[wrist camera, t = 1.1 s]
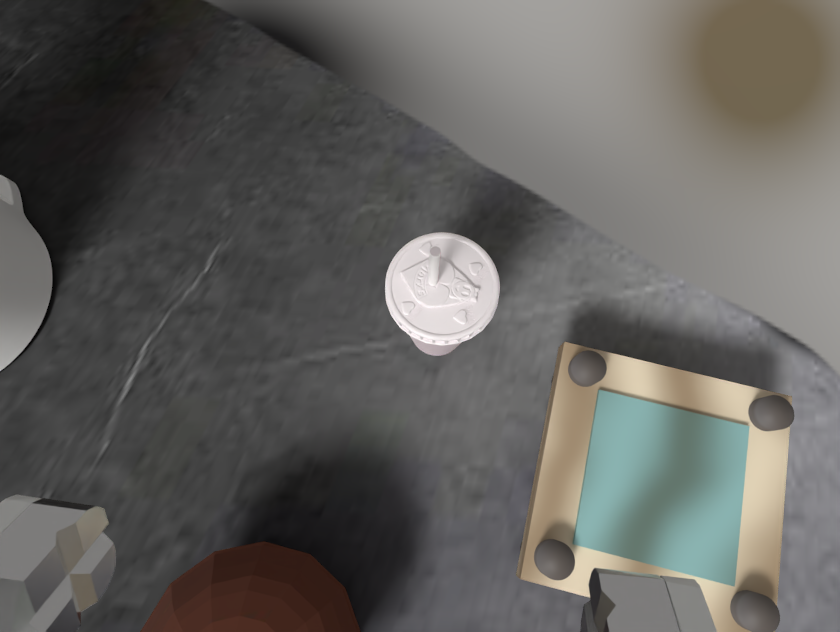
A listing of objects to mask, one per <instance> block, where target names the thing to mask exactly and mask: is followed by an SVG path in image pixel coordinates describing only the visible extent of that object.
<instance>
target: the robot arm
mask: <svg viewBox="0 0 840 632" xmlns="http://www.w3.org/2000/svg"><path fill="white" fill-rule="evenodd" d="M51 291H52V266H51V261H50V257H49V253H48V251H47V248H46V246H45V244H44V242H43V240H42V238H41V237H40V235H39V234H38V233H37V231H36V230H35V229H34V228H33V226H32V225H31V224H30V223H29V221H28V220H27V218H26V216H25V215H24V212H23V205H22V200H21V195H20V191H19V189H18V187H17V185H16V184H15V183H14V182H13V181H11V180H9V179H8V178H6V177H4V176H2V175H0V371H1V370H2V369H4V368H5V367H6V366H7V365H9V364H10V363H11V362H12V361H13V360H14V359H15V358H16V357H17V356H18V355H19V354H20V353H21V352H22V351H23V350H24V348H25V347H26V346H27V345H28V343H29V342H30V341H31V339H32V338H33V336H34V335H35V333H36V332H37V330H38V328H39V327H40V325H41V323H42V321H43V318H44V316H45V313H46V311H47V308H48V305H49V301H50V297H51ZM108 524H109V523H108V520H107V517H106V514H105V510H104V509H103V508H100V507H97V506H91V505H84V504H78V503H71V502H65V501H58V500H52V499H45V498H36V497H29V496H22V495H14V496H11V497H9V498H6V499H4V500H3V501H2V502H1V503H0V632H76V631H77V630H78V628H79V627H80V626H81V611H83V610H85V609H86V608H88V607H90V606H91V605H93V604H94V603H96V602H98V601H99V599H100V598H101V596H102V595H103V593H104V592H105V590H106V589H107V588H108V586H109V584H110V581H111V578H112V576H113V573H114V570H115V566H116V551H115V547H114V543H113V542H112V541H111V540H110V539H109V538H108V537H107V536H106V535H105V534H104V533H103V531H104V529H105V528H106V527H107V525H108ZM588 585H589V592H590V599H591V600H590V601H589V602H587V603H586V604H584V607H583V613H582V618H581V631H580V632H717V630H716V627H715V625H714V622H713V619H712V616H711V614H710V611H709V608H708V606H707V603H706V600H705V598H704V595H703V592H702V589H701V587H700V585H699V584H698V583H697V581H696V580H695V579H687V578H679V577H670V576H662V575H661V576H658V575H655V574H646V573H637V572H629V571H620V570H611V569H602V568H594V569H593V571H592V573H591V576H590V580H589V584H588Z"/></svg>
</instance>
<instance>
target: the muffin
mask: <svg viewBox="0 0 840 632" xmlns="http://www.w3.org/2000/svg"><path fill="white" fill-rule="evenodd" d="M140 632H361V631H360V629H359V626H358V623H357V620H356V617H355V614H354V611H353V609H352V606H351V603H350V600H349V597H348V594H347V591H346V588H345V587H344V586H343V585H342V584H341V583H340V582H339V581H338V580H337V579H335V578H334V577H333V576H332V575H331V574H330V573H329V572H328V571H327V570H326V569H325V568H324V567H323V566H322V565H321V564H320V563H319V562H318V561H317V560H316V559H315V558H314V557H313V556H312V555H311V554H308V553H304V552H301V551H297V550H293V549H290V548H286V547H283V546H279V545H275V544H272V543H268V542H264V541H263V542H258V543H254V544H249V545H244V546H239V547H234V548H230V549H225V550H220V551H215V552H213V553H212V554H211V555H209V556H208V557H206V558H205V559H204V560H202V561H201V562H200V563H198V564H197V565H195V566H194V567H193V568H191V569H190V570H188V571H187V572H186V573H184V574H183V575H182V576H180V577H179V578H177V579H176V580H175V581H173V582H172V583H171V584H170V585H169V587H168V588H167V590H166V592H165V593H164V595H163V596H162V598H161V600H160V601H159V603H158V604H157V606H156V608H155V609H154V611H153V612H152V614H151V616H150V617H149V619H148V620H147V622H146V623H145V625H144V627H143V628H142V630H141V631H140Z"/></svg>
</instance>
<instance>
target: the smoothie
mask: <svg viewBox="0 0 840 632" xmlns="http://www.w3.org/2000/svg"><path fill="white" fill-rule="evenodd" d="M499 292H500V282H499V276H498V272H497V269H496V267H495V264H494V263H493V261H492V259H491V258H490V256H489V255H488V254H487V252H486V251H485V250H484V249H483V248H482V247H480V246H479V245H478V244H477V243H475V242H474V241H472V240H470V239H468V238H466V237H464V236H461V235H457V234H453V233H443V232H440V233H431V234H426V235H423V236H420V237H418V238H416V239H414V240H412V241H410V242H409V243H407V244H406V245H405V246H404V247H402V248H401V249H400V250H399V252H398V253H397V254H396V255H395V257H394V258H393V260H392V262H391V264H390V266H389V268H388V271H387V275H386V283H385V294H386V303H387V306H388V308H389V311H390V314H391V316H392V317H393V319H394V320H395V321H396V323H397V324H398V326H399V327H400V328H401V329H402V330H404V331H405V332H406V333H407V334H409V335H410V337H411V338H412V340H413V342H414V343H415V345H416V346H417V347H418V348H419V349H420V350H421V351H423V352H424V353H426V354H429V355H434V356H440V355H445V354H448V353H450V352H451V351H453V350H454V349H455V348H456V347H457V346H458V345H459V344H460V343H461V342H463V341H466V340H469V339H471V338H472V337H474V336H475V335H477V334H478V333H479V332H481V331H482V330H483V329H484V328H485V327H486V325H487V324H488V323H489V322H490V320H491V319H492V317H493V315H494V313H495V310H496V308H497V306H498V298H499Z"/></svg>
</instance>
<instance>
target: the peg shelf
mask: <svg viewBox="0 0 840 632" xmlns="http://www.w3.org/2000/svg"><path fill="white" fill-rule="evenodd" d="M791 404H792V396H788V395H784V394H780V393H775V392H771V391H767V390H763V389H759V388H755V387H750V386H746V385H742V384H738V383H734V382H730V381H726V380H721V379H717V378H713V377H709V376H705V375H701V374H696V373H692V372H688V371H684V370H680V369H676V368H671V367H667V366H663V365H659V364H655V363H651V362H647V361H642V360H638V359H634V358H630V357H626V356H622V355H617V354H613V353H609V352H605V351H601V350H597V349H592V348H588V347H584V346H580V345H576V344H572V343H568V342H564V343H563V344H562V345H561V346H560V347H559V349H558V355H557V360H556V365H555V371H554V376H553V378H552V387H551V392H550V397H549V403H548V408H547V413H546V418H545V424H544V429H543V434H542V440H541V445H540V450H539V456H538V461H537V466H536V472H535V477H534V482H533V487H532V493H531V498H530V503H529V509H528V514H527V519H526V525H525V530H524V535H523V541H522V543H521V547H520V556H519V562H518V567H517V572H516V576H517V577H519V578H520V579H522V580H526V581H530V582H533V583H537V584H541V585H545V586H548V587H552V588H556V589H560V590H563V591H567V592H571V593H575V594H578V595H582V596H586V597H590V592H589V585H588V584H589V580H590V576H591V573H592V571H593V569H594V568H602V569H611V570H620V571H629V572H637V573H646V574H655V575H658V576H661V575H662V576H670V577H679V578H687V579H695V580H696V581H697V583H698V584H699V585H700V587H701V589H702V592H703V595H704V598H705V600H706V603H707V606H708V608H709V611H710V614H711V616H712V619H713V622H714V625H715V627H716V630H717V632H775V630H776V629H777V627H778V625H779V621H780V614H779V610H778V608H777V596H778V582H779V569H780V555H781V541H782V527H783V514H784V500H785V486H786V472H787V459H788V445H789V431H790V425H791V424H792V422H793V420H794V410H793V408H792V406H791Z"/></svg>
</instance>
